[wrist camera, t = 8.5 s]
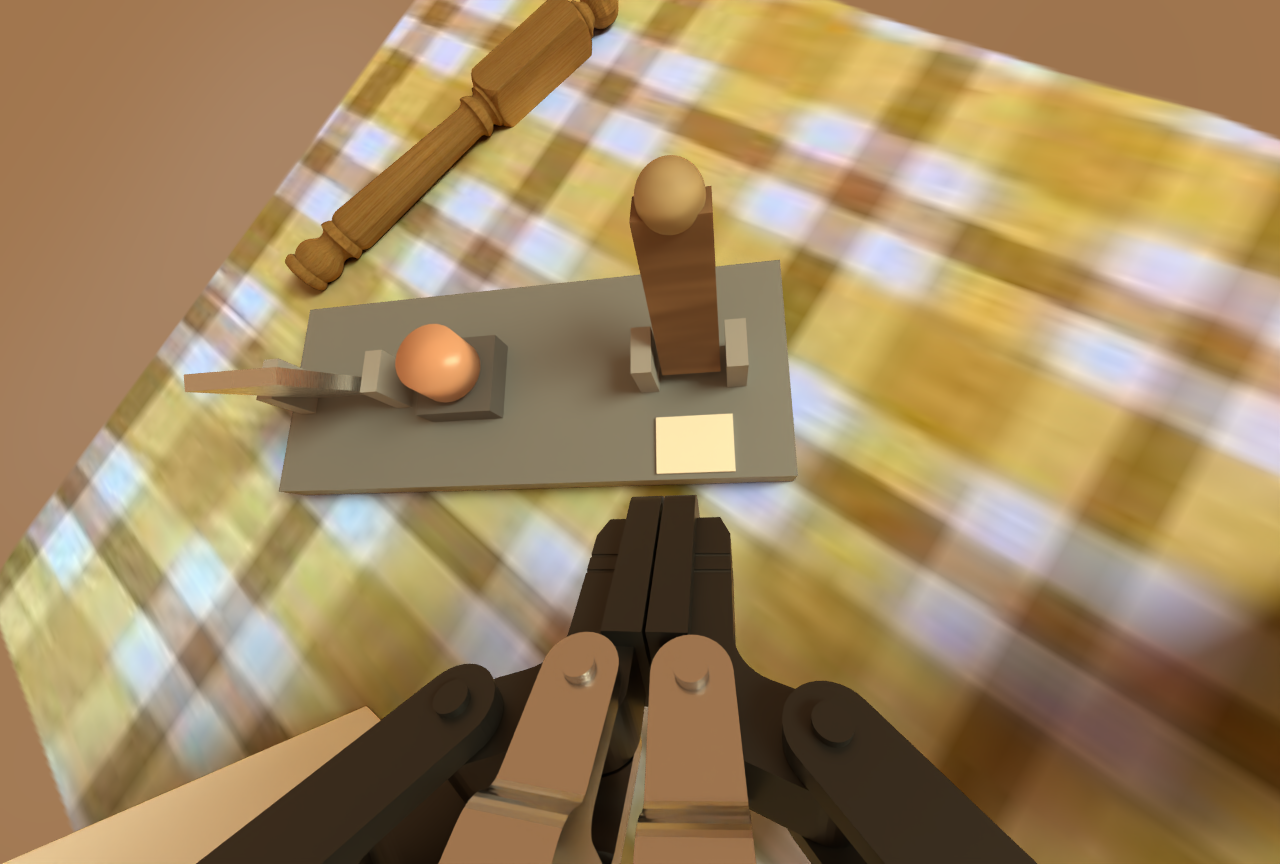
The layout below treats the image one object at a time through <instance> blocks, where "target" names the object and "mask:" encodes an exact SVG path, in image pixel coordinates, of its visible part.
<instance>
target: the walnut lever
mask: <svg viewBox="0 0 1280 864" xmlns="http://www.w3.org/2000/svg"><path fill="white" fill-rule="evenodd" d="M629 223H630V228H631V232H632V237H633V242H634V246H635V251H636V255H637V260H638V265H639V269H640V274H641V279H642V283H643V288H644V292H645V297H646V302H647V306H648V311H649V315H650V320H651V325H652V329H653V334H654V339H655V343H656V348H657V352H658V357H659V362H660V366H661V371H662V375H675V374H690V373H704V372H719V371H721V368H720V347H719V327H718V308H717V288H716V269H715V249H714V230H713V210H712V191H711V186H707V187H705V184H704V180H703V178H702V175H701V173H700V172H699V170H698V169H697V168H696V167H695V165H694V164H693V163H691V162H690V161H688V160H687V159H685V158H683V157H680V156H674V155H667V156H662V157H659V158H657V159H655V160H653V161H652V162H650V163H649V164H648V165H647V166H646V167H645V168H644V169H643V170H642V172H641V173H640V175H639V177H638V179H637V181H636V185H635V190H634V196H633V197H632V202H631V212H630V222H629Z"/></svg>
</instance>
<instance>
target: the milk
mask: <svg viewBox="0 0 1280 864" xmlns="http://www.w3.org/2000/svg"><path fill="white" fill-rule="evenodd" d="M379 721H380V719H379V718H378V717H377V716H376V715H375V714H374V713H373V712H372V711H371V710H370V709H369V708H368V707H367V706H365V707H362V708H360V709H358V710H355V711H353V712H351V713H349V714H346V715H344V716H342V717H339V718H337V719H335V720H332V721H330V722H328V723H325V724H323V725H321V726H319V727H316V728H314V729H312V730H309V731H307V732H305V733H302V734H300V735H298V736H295V737H293V738H291V739H288V740H286V741H284V742H282V743H279V744H277V745H275V746H272V747H270V748H268V749H265V750H263V751H261V752H258V753H256V754H254V755H252V756H249V757H247V758H245V759H242V760H240V761H238V762H235V763H233V764H231V765H228V766H226V767H224V768H221V769H219V770H217V771H215V772H212V773H210V774H208V775H205V776H203V777H201V778H198V779H196V780H194V781H191V782H189V783H187V784H185V785H182V786H180V787H178V788H175V789H173V790H171V791H168V792H166V793H164V794H161V795H159V796H157V797H154V798H152V799H150V800H148V801H145V802H143V803H141V804H138V805H136V806H134V807H131V808H129V809H127V810H124V811H122V812H120V813H118V814H115V815H113V816H111V817H108V818H106V819H104V820H101V821H99V822H97V823H94V824H92V825H90V826H87V827H85V828H83V829H81V830H78V831H76V832H74V833H71V834H69V835H67V836H65V837H63V838H60V839H57V840H55V841H53V842H51V843H48V844H46V845H44V846H41V847H39V848H37V849H34V850H32V851H30V852H28V853H25V854H23V855H21V856H18V857H16V858H14V859H12V860H9V861H7V862H4V863H2V864H196V863H197V862H199V861H200V860H201V859H202V858H204V857H205V856H206V855H208V854H209V853H210V852H212V851H213V850H214V849H215V848H217V847H218V846H219V845H221V844H222V843H223V842H224V841H226V840H227V839H228V838H230V837H231V836H232V835H233V834H235V833H236V832H237V831H239V830H240V829H241V828H242V827H244V826H245V825H246V824H248V823H249V822H250V821H251V820H253V819H254V818H255V817H257V816H258V815H259V814H261V813H262V812H263V811H264V810H266V809H267V808H268V807H270V806H271V805H272V804H273V803H275V802H276V801H277V800H279V799H280V798H281V797H282V796H284V795H285V794H286V793H288V792H289V791H290V790H291V789H293V788H294V787H295V786H297V785H298V784H299V783H301V782H302V781H303V780H304V779H306V778H307V777H308V776H310V775H311V774H312V773H313V772H315V771H316V770H317V769H319V768H320V767H321V766H322V765H324V764H325V763H326V762H328V761H329V760H330V759H331V758H333V757H334V756H335V755H337V754H338V753H339V752H340V751H342V750H343V749H344V748H346V747H347V746H348V745H350V744H351V743H352V742H353V741H355V740H356V739H357V738H359V737H360V736H361V735H362V734H364V733H365V732H366V731H368V730H369V729H370V728H371V727H373V726H374V725H375V724H377V723H378V722H379Z"/></svg>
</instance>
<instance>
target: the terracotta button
mask: <svg viewBox="0 0 1280 864" xmlns="http://www.w3.org/2000/svg"><path fill="white" fill-rule="evenodd" d="M395 368H396V372H397V375H398V377H399V379H400V380H401V382H402V383H403V384H404V385H405V386H407V387H408V388H410V389H412V390H414V391H416V392H418V393H420V394H422V395H424V396H426V397H428V398H430V399H433V400H435V401H438V402H452V401H456V400H458V399H460V398H462V397H463V396H465V395H466V394H467V393H468V392H469V391H470V390H471V389H472V388H473V387H474V385H475V383H476V382H477V379H478V377H479V373H480V359H479V356H478V353H477V352H476V350H475V349H474V348H473V347H472V346H471V345H470V344H469V343H467V342H466V341H465V340H463V339H462V338H461V337H460V336H458V335H457V334H456V333H455V332H453V331H452V330H451V329H449V328H448V327H446V326H444V325H440V324H428V325H424V326H421V327H419V328H417V329H415V330H414V331H412V332H411V333H410V334H409V335H408V336H407V337H406V338H405V339H404V340H403V342H402V343H401V345H400V347H399V349H398V351H397V354H396V359H395Z"/></svg>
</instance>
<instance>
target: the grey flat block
mask: <svg viewBox="0 0 1280 864" xmlns="http://www.w3.org/2000/svg"><path fill="white" fill-rule="evenodd" d="M361 380H362V377H358V376H349V375H341V374H332V373H323V372H315V371H306V370H298V369H289V368H280V367H269V368H257V369H245V370H234V371H222V372H210V373H198V374H186V375H184V383H185V392H197V393H217V394H237V395H257V396H277V397H297V398H324V397H338V396H353V395H364V394H362V393H360V387H361Z"/></svg>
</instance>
